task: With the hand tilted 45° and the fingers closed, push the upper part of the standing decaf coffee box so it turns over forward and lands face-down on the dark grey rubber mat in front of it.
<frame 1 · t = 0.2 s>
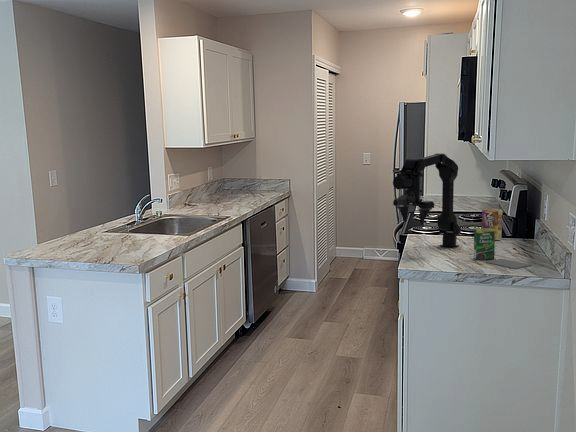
hand: (413, 223, 236), 14 cm above the countertop, tool pointing down, fingers open, 9 cm apart
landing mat: (508, 264, 217), on the countertop
coffee box: (483, 259, 227), on the countertop
candy box: (491, 239, 270), on the countertop
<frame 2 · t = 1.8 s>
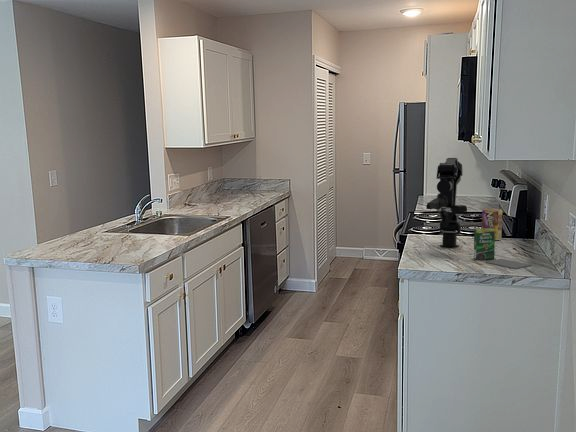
hand: (445, 226, 238), 12 cm above the countertop, tool pointing down, fingers closed
nothing on the countertop moved.
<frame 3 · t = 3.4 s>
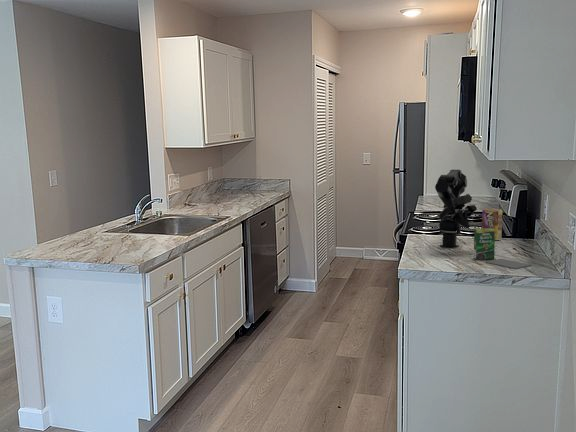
hand: (468, 227, 232), 12 cm above the countertop, tool tilted 45°, fingers closed
nothing on the countertop moved.
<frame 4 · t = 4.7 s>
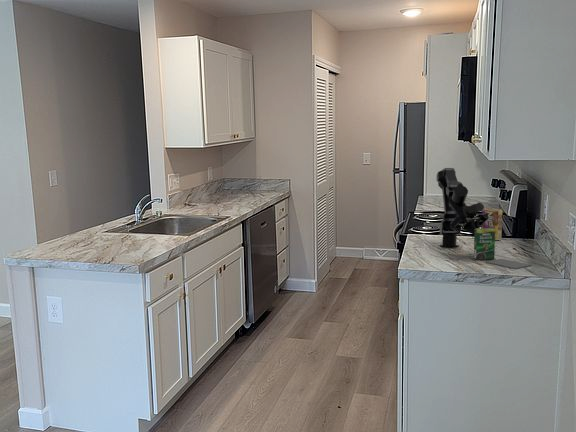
hand: (480, 236, 227), 9 cm above the countertop, tool tilted 45°, fingers closed
coffee box: (483, 259, 227), on the countertop, touching gripper
everything else where it was.
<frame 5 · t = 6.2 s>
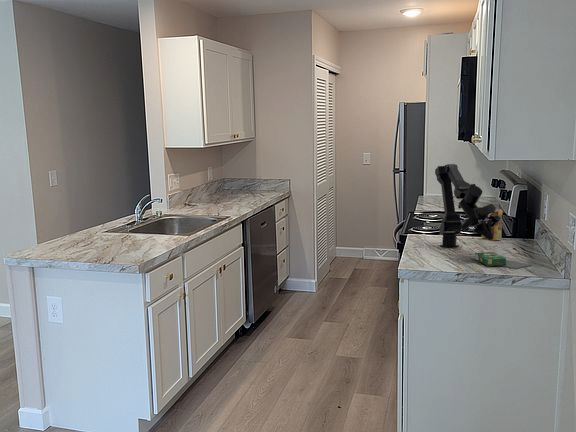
hand: (492, 239, 222), 9 cm above the countertop, tool tilted 45°, fingers closed
coffee box: (483, 255, 226), point 2 cm above the countertop, touching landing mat
everything else where it was.
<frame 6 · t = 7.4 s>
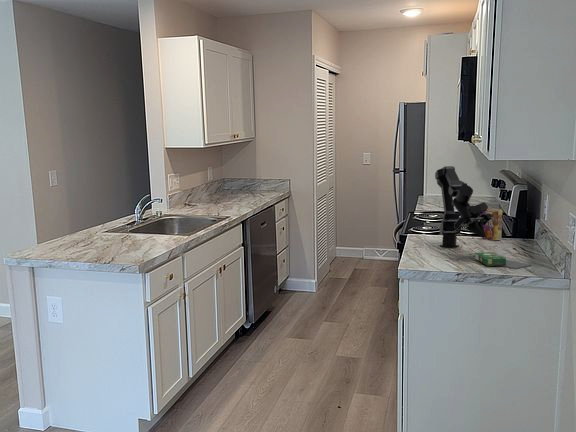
hand: (484, 237, 226), 9 cm above the countertop, tool tilted 45°, fingers closed
nothing on the countertop moved.
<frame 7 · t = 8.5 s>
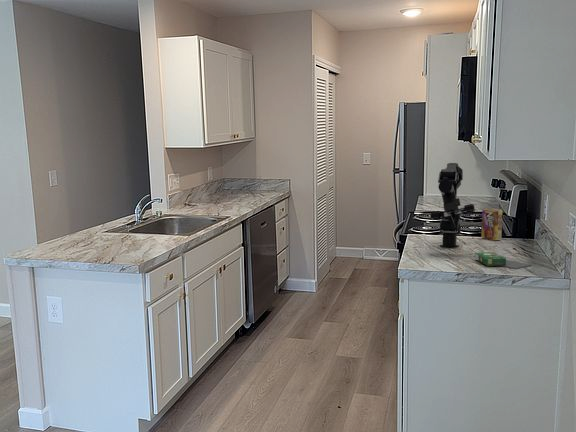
hand: (456, 231, 234), 10 cm above the countertop, tool tilted 20°, fingers closed
nothing on the countertop moved.
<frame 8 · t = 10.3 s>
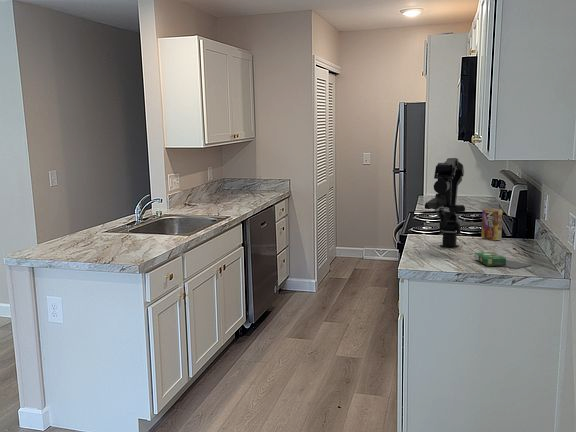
hand: (443, 226, 239), 12 cm above the countertop, tool pointing down, fingers closed
nothing on the countertop moved.
at the end: coffee box tilted 90°; coffee box touching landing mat; coffee box 11.5 cm from the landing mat (horizontally) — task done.
